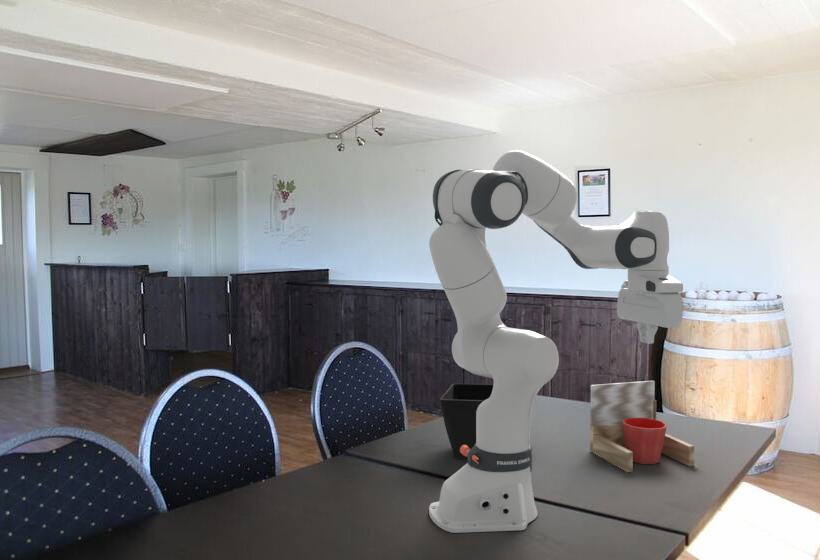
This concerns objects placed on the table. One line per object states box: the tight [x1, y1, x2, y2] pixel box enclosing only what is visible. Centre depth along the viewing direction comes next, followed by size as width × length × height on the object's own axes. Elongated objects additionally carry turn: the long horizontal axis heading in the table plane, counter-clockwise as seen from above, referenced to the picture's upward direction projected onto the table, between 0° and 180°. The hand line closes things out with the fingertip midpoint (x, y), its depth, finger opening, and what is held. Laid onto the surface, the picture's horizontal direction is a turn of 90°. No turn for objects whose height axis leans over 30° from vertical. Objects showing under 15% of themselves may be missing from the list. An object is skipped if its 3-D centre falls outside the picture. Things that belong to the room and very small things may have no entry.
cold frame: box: [589, 380, 695, 473], centre depth 177 cm, size 19×18×18 cm
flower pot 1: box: [439, 383, 494, 461], centre depth 182 cm, size 19×19×17 cm
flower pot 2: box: [623, 418, 667, 465], centre depth 177 cm, size 11×11×10 cm
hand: (646, 342), depth 157 cm, fingers closed
